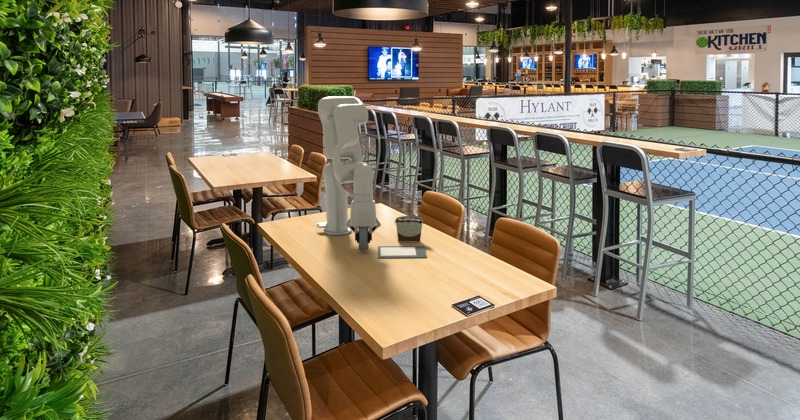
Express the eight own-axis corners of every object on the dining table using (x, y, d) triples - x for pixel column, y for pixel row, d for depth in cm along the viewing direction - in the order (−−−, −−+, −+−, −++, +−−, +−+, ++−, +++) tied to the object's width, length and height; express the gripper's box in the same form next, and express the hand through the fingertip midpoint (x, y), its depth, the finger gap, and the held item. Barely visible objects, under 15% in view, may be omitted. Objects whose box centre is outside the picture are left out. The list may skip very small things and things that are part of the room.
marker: (358, 250, 230) (357, 219, 227) (358, 247, 234) (358, 216, 231) (368, 250, 230) (368, 219, 227) (368, 247, 234) (368, 216, 231)
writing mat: (377, 258, 225) (377, 257, 225) (378, 247, 239) (378, 246, 239) (426, 257, 225) (426, 256, 225) (424, 246, 240) (424, 245, 240)
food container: (424, 238, 252) (424, 215, 250) (423, 242, 246) (423, 219, 244) (396, 237, 254) (396, 215, 251) (394, 241, 248) (394, 218, 245)
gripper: (341, 199, 223) (341, 245, 228) (384, 199, 224) (384, 245, 228) (342, 195, 230) (343, 239, 235) (384, 195, 231) (384, 239, 235)
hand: (363, 241), depth 232 cm, fingers closed on marker, 3 cm apart
